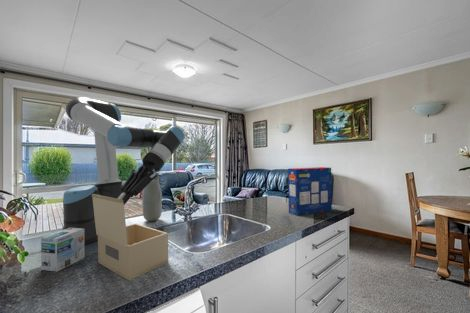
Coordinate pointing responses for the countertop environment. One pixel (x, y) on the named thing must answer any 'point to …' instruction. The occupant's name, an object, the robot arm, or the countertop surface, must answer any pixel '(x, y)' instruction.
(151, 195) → the grey vase
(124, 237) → the carton flap
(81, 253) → the light bulb box
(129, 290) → the countertop surface
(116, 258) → the carton
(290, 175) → the blue product box
